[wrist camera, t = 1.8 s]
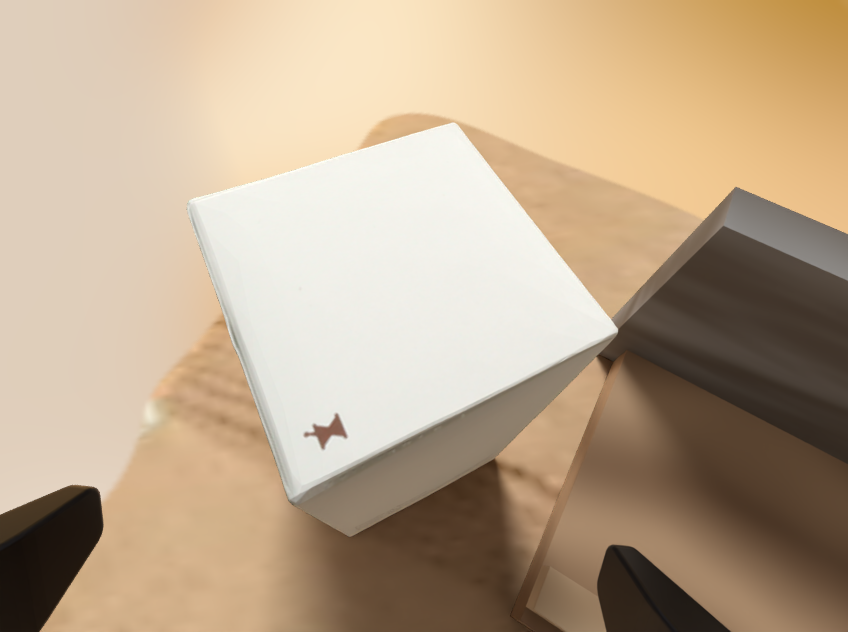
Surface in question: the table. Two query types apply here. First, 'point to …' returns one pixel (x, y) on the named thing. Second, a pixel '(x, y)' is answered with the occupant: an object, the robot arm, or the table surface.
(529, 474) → the table surface
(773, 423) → the ledge
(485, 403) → the supplement box
